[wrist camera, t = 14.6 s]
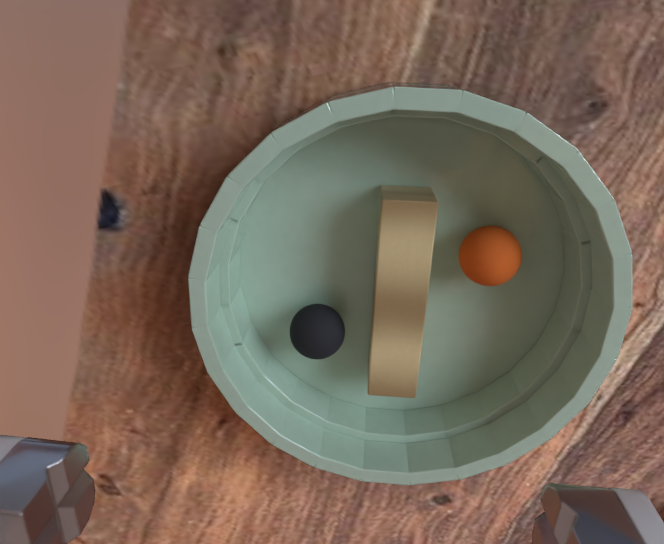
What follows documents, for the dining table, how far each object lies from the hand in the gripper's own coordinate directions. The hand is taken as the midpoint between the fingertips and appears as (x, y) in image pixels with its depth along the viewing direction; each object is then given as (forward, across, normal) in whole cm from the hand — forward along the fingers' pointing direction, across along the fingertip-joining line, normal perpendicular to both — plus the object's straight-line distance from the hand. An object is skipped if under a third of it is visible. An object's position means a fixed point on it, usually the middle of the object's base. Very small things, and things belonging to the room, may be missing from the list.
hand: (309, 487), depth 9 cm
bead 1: (+16, 0, +6) cm, 17 cm away
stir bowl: (+18, -3, +3) cm, 18 cm away
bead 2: (+16, -6, +2) cm, 17 cm away
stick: (+17, -3, +4) cm, 18 cm away
